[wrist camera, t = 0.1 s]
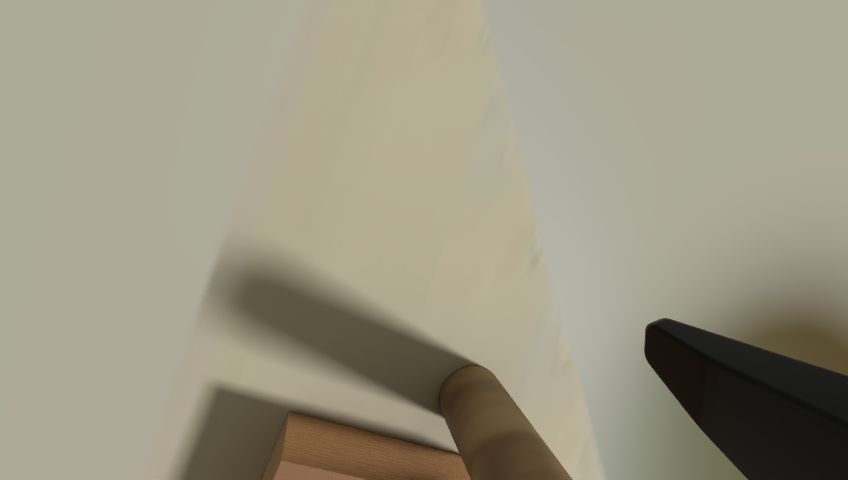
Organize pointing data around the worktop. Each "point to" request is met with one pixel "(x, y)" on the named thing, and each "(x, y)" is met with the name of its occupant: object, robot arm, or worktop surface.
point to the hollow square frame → (354, 455)
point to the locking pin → (494, 430)
